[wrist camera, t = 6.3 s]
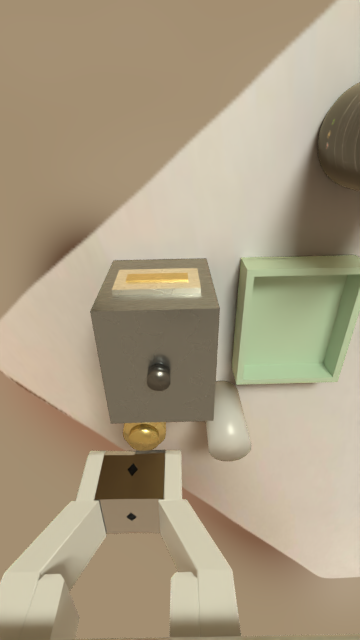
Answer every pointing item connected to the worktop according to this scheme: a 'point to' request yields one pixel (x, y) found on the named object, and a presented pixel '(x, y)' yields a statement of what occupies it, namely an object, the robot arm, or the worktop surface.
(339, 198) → the worktop surface
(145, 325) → the box
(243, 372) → the tray
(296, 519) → the worktop surface
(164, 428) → the brass fitting
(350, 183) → the supplement bottle
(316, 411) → the worktop surface
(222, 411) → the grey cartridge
